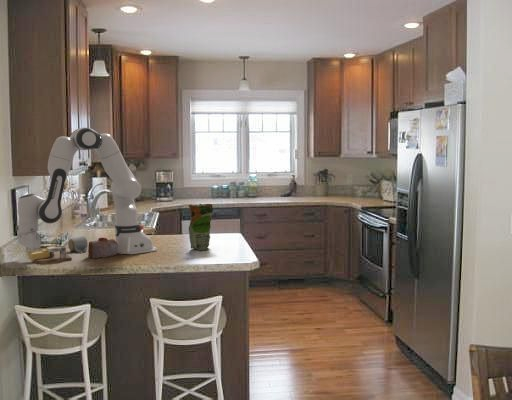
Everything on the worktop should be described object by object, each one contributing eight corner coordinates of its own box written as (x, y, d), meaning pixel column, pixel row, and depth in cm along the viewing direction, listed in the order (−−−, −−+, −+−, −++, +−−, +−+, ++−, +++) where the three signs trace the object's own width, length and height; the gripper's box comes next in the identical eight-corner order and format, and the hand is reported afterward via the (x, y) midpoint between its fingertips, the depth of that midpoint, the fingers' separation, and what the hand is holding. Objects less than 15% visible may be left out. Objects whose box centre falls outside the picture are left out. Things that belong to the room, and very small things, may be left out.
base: (66, 255, 284) (65, 242, 283) (71, 260, 271) (71, 247, 271) (32, 258, 276) (32, 245, 276) (36, 263, 264) (36, 250, 263)
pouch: (214, 248, 302) (213, 202, 300) (206, 252, 291) (206, 204, 289) (195, 247, 305) (194, 201, 303) (186, 251, 294) (186, 204, 292)
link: (53, 254, 278) (53, 246, 278) (58, 255, 275) (58, 247, 275) (27, 258, 268) (27, 250, 267) (33, 260, 265) (32, 251, 264)
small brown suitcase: (112, 253, 288) (112, 235, 287) (119, 256, 282) (118, 236, 281) (87, 257, 279) (86, 237, 278) (93, 259, 273) (92, 239, 272)
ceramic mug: (67, 250, 296) (67, 236, 295) (81, 249, 301) (81, 235, 301) (76, 254, 288) (75, 239, 287) (91, 252, 294) (90, 237, 293)
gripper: (43, 229, 262) (44, 258, 263) (27, 225, 277) (29, 252, 279) (29, 230, 258) (31, 260, 259) (14, 226, 273) (16, 254, 274)
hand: (29, 256), depth 269 cm, fingers closed
